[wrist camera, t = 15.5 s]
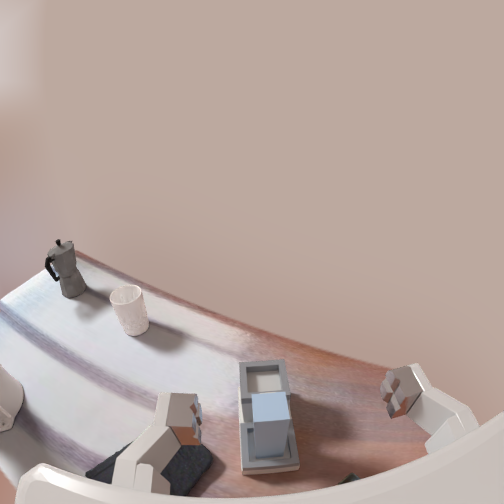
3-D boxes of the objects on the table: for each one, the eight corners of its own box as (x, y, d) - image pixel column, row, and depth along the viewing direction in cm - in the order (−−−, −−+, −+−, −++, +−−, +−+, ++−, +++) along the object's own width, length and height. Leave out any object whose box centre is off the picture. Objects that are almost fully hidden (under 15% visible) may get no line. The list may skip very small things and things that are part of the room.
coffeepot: (73, 279, 82) (58, 231, 74) (94, 279, 82) (79, 230, 74) (51, 305, 69) (31, 253, 61) (72, 307, 68) (52, 253, 60)
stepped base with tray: (298, 470, 32) (306, 448, 27) (242, 475, 32) (237, 454, 27) (284, 390, 47) (287, 356, 42) (238, 394, 46) (234, 360, 42)
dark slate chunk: (231, 467, 33) (228, 457, 31) (135, 545, 18) (121, 543, 16) (166, 416, 42) (158, 402, 40) (78, 479, 26) (64, 469, 24)
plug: (283, 456, 32) (290, 418, 27) (255, 458, 32) (253, 422, 26) (279, 431, 37) (284, 387, 31) (254, 433, 36) (251, 390, 30)
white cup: (155, 318, 66) (146, 285, 62) (145, 339, 59) (134, 305, 55) (128, 316, 66) (117, 284, 62) (117, 336, 59) (104, 303, 55)
